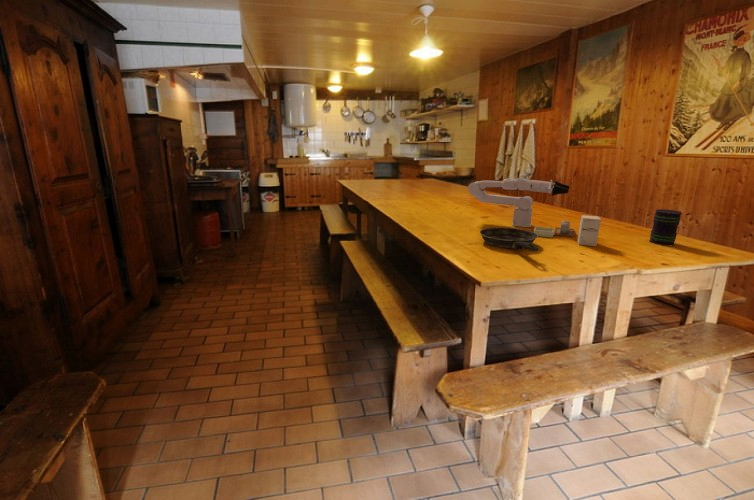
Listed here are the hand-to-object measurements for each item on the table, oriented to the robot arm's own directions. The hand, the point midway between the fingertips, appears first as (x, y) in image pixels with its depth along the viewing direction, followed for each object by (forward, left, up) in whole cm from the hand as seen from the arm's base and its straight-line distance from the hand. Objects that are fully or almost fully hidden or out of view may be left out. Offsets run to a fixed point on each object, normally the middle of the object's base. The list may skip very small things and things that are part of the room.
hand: (568, 189), depth 204 cm
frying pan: (-20, -48, -21) cm, 56 cm away
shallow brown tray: (+1, -7, -21) cm, 22 cm away
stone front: (+1, -12, -21) cm, 24 cm away
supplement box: (+10, -26, -21) cm, 35 cm away
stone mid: (+1, -7, -21) cm, 22 cm away
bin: (-9, -17, -21) cm, 28 cm away
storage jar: (+42, -8, -21) cm, 48 cm away
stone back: (+1, -3, -21) cm, 21 cm away
